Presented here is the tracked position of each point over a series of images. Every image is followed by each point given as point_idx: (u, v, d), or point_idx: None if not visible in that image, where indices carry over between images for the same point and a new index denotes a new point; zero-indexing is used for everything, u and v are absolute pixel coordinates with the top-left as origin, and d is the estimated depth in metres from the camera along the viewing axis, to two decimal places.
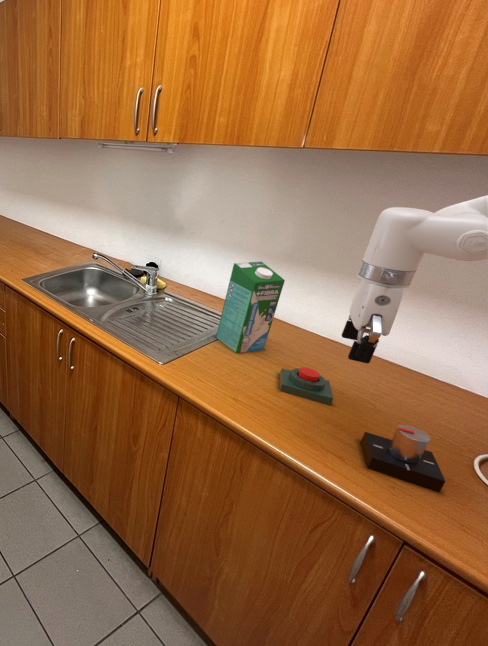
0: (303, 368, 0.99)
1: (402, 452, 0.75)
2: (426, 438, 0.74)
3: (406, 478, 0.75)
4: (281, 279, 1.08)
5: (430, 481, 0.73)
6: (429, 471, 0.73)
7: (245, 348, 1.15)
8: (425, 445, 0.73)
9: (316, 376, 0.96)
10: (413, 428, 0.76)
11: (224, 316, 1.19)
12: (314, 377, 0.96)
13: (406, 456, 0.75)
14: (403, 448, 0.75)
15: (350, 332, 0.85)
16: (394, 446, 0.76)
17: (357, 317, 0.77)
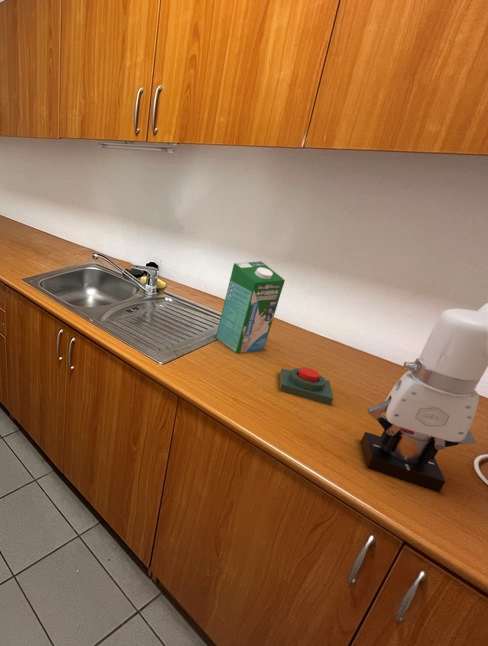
0: (303, 368, 0.99)
1: (402, 452, 0.75)
2: (426, 438, 0.74)
3: (406, 478, 0.75)
4: (281, 279, 1.08)
5: (430, 481, 0.73)
6: (429, 471, 0.73)
7: (245, 348, 1.15)
8: (425, 445, 0.73)
9: (316, 376, 0.96)
10: None
11: (224, 316, 1.19)
12: (314, 377, 0.96)
13: (406, 456, 0.75)
14: (403, 448, 0.75)
15: None
16: (394, 446, 0.76)
17: None
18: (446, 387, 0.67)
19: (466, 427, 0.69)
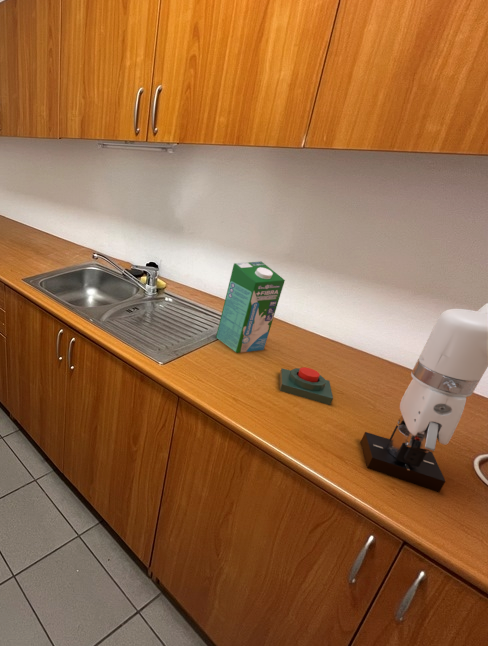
0: (303, 368, 0.99)
1: None
2: None
3: (406, 478, 0.75)
4: (281, 279, 1.08)
5: (430, 481, 0.73)
6: (429, 471, 0.73)
7: (245, 348, 1.15)
8: None
9: (316, 376, 0.96)
10: (402, 429, 0.76)
11: (224, 316, 1.19)
12: (314, 377, 0.96)
13: None
14: None
15: None
16: None
17: (412, 421, 0.72)
18: None
19: None
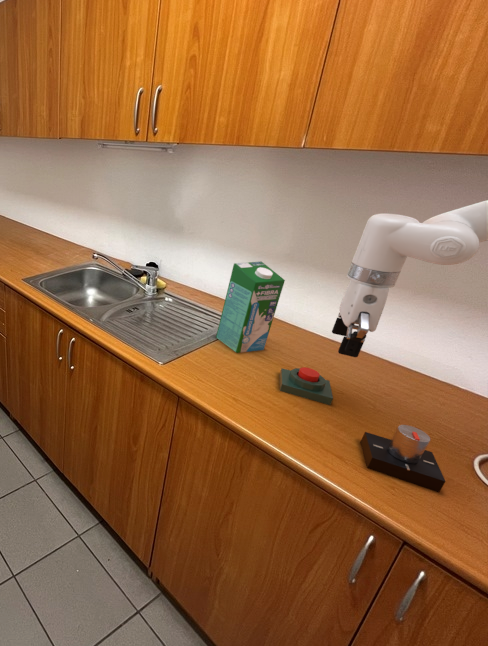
0: (303, 368, 0.99)
1: None
2: (416, 429, 0.76)
3: (406, 478, 0.75)
4: (281, 279, 1.08)
5: (430, 481, 0.73)
6: (429, 471, 0.73)
7: (245, 348, 1.15)
8: None
9: (316, 376, 0.96)
10: (402, 429, 0.76)
11: (224, 316, 1.19)
12: (314, 377, 0.96)
13: None
14: (423, 451, 0.74)
15: (340, 328, 0.92)
16: (417, 456, 0.74)
17: (346, 315, 0.83)
18: (396, 279, 0.80)
19: None
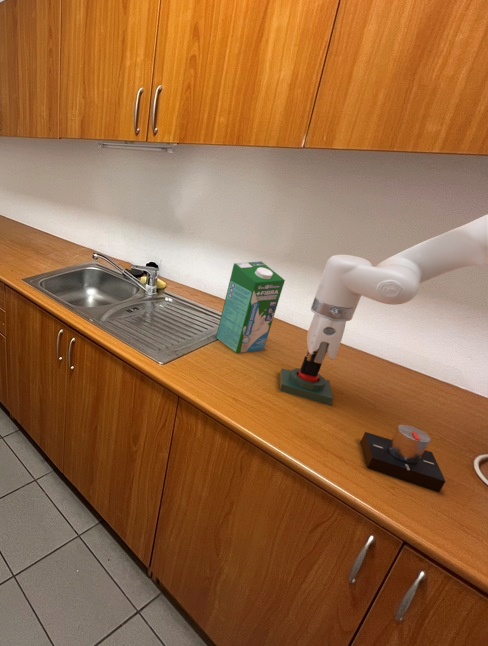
0: None
1: None
2: (416, 429, 0.76)
3: (406, 478, 0.75)
4: (281, 279, 1.08)
5: (430, 481, 0.73)
6: (429, 471, 0.73)
7: (245, 348, 1.15)
8: None
9: (315, 378, 0.97)
10: (402, 429, 0.76)
11: (224, 316, 1.19)
12: (314, 378, 0.96)
13: None
14: (423, 451, 0.74)
15: None
16: (417, 456, 0.74)
17: (310, 343, 0.93)
18: (353, 313, 0.89)
19: None
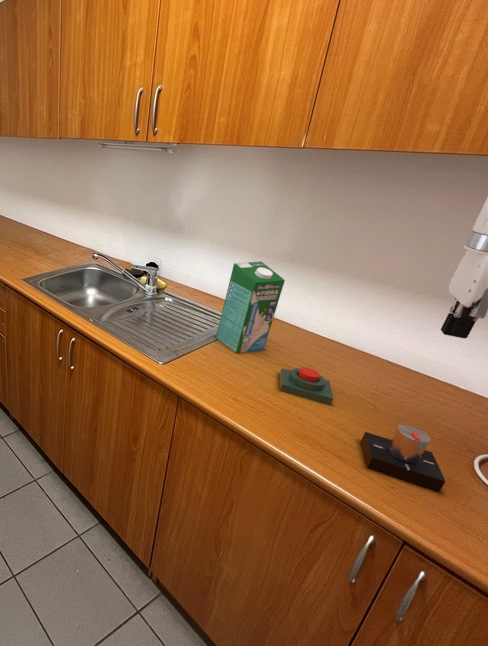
0: (303, 368, 0.99)
1: None
2: (416, 429, 0.76)
3: (406, 478, 0.75)
4: (281, 279, 1.08)
5: (430, 481, 0.73)
6: (429, 471, 0.73)
7: (245, 348, 1.15)
8: None
9: (316, 376, 0.96)
10: (402, 429, 0.76)
11: (224, 316, 1.19)
12: (314, 377, 0.96)
13: None
14: (423, 451, 0.74)
15: None
16: (417, 456, 0.74)
17: (466, 293, 0.71)
18: None
19: None
